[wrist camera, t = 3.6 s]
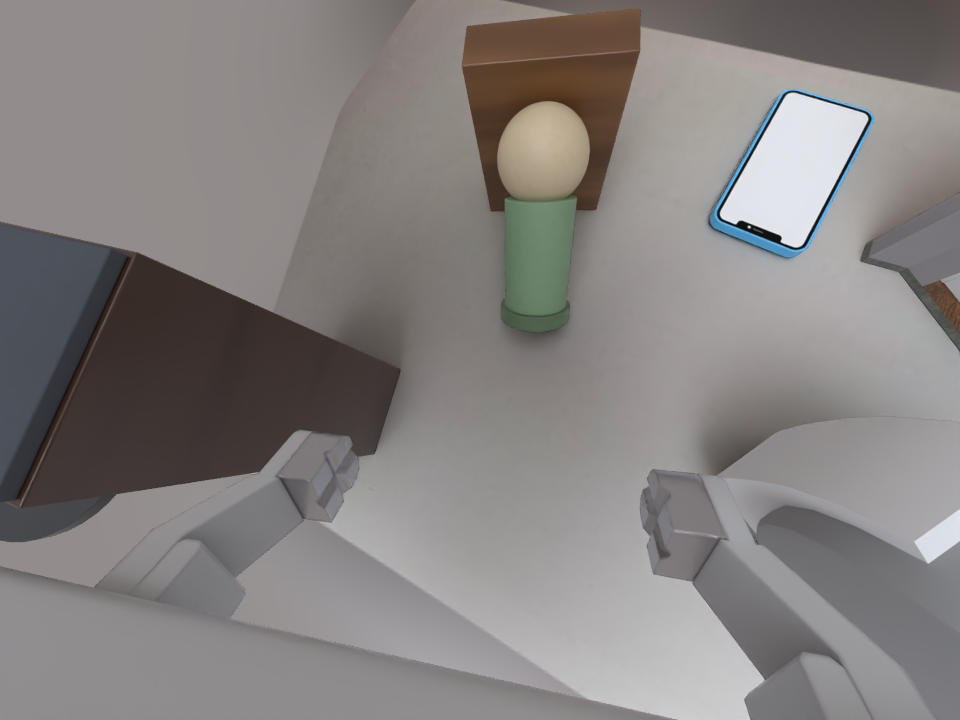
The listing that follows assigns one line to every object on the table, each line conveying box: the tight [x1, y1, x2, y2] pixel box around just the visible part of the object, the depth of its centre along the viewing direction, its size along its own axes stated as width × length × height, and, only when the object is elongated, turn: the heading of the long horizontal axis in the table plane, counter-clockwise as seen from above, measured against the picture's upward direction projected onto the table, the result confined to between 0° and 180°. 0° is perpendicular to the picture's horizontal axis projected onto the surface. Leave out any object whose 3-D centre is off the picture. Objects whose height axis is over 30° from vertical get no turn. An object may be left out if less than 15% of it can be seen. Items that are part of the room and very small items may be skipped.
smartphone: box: [710, 89, 874, 257], centre depth 30 cm, size 8×1×15 cm
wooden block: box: [462, 8, 641, 211], centre depth 27 cm, size 3×10×14 cm, turn 85°
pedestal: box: [0, 222, 400, 509], centre depth 22 cm, size 8×8×22 cm
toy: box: [497, 101, 590, 332], centre depth 25 cm, size 13×6×13 cm, turn 175°
